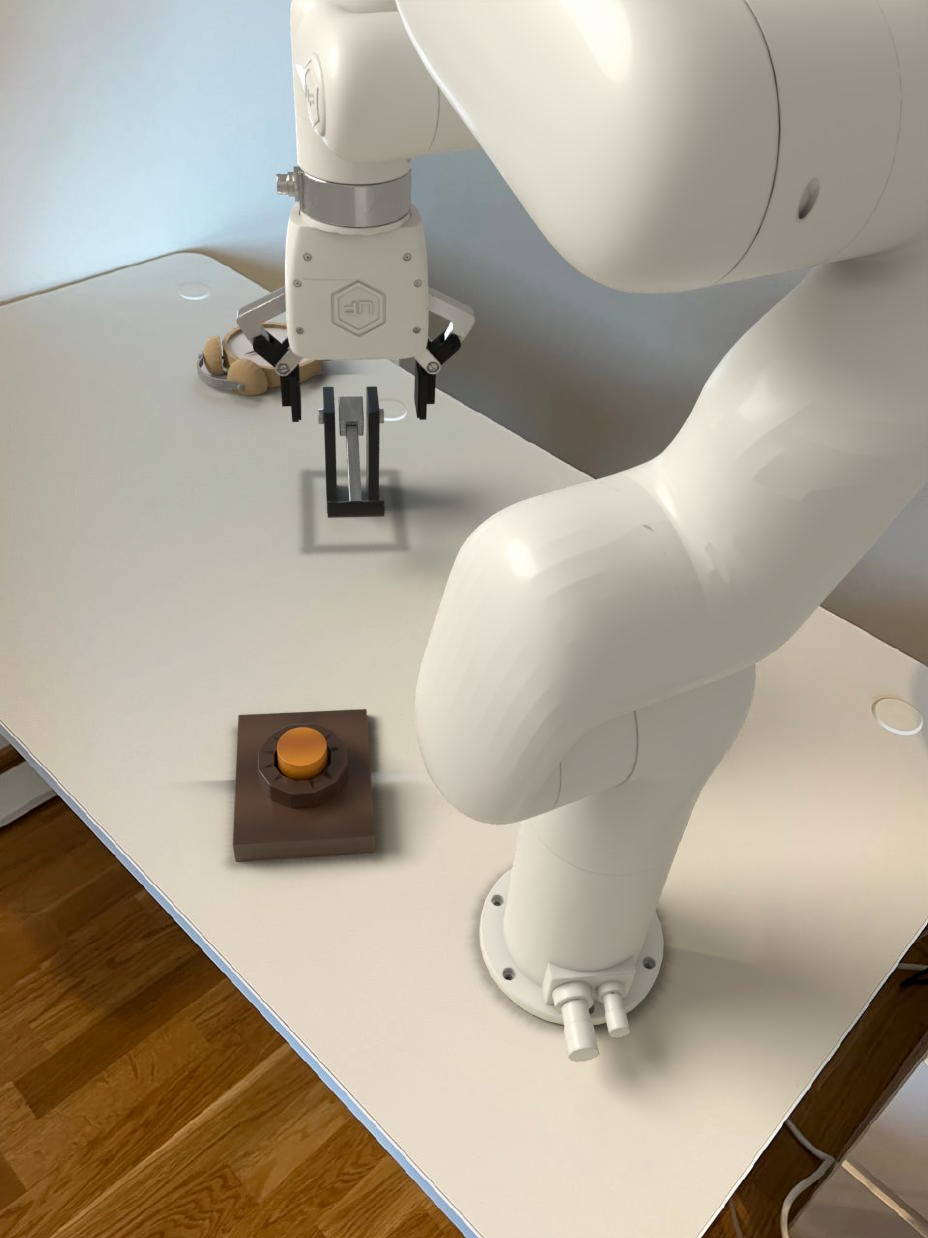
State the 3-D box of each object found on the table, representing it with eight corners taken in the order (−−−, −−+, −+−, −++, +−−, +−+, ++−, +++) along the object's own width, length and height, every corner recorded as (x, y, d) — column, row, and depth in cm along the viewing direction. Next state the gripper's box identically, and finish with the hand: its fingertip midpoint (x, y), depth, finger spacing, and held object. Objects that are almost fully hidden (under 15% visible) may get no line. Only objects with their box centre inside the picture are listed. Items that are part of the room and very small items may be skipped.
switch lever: (384, 522, 95) (385, 508, 93) (327, 523, 95) (327, 509, 93) (377, 411, 100) (377, 395, 98) (323, 411, 100) (323, 395, 98)
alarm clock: (344, 353, 122) (232, 373, 112) (339, 392, 124) (229, 415, 115) (287, 313, 127) (175, 329, 118) (283, 352, 130) (173, 370, 121)
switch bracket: (401, 547, 102) (405, 436, 94) (307, 550, 101) (301, 438, 92) (393, 472, 111) (395, 364, 102) (305, 474, 110) (300, 364, 101)
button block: (374, 853, 78) (375, 821, 75) (235, 862, 77) (230, 829, 74) (366, 726, 86) (366, 693, 84) (240, 732, 85) (236, 699, 82)
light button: (327, 779, 78) (327, 764, 77) (277, 782, 77) (276, 767, 76) (326, 741, 80) (326, 726, 79) (278, 743, 80) (277, 728, 79)
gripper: (221, 213, 68) (244, 440, 80) (489, 215, 70) (474, 436, 82) (226, 169, 73) (247, 388, 85) (475, 171, 76) (463, 385, 87)
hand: (358, 411), depth 83 cm, fingers open, 9 cm apart
